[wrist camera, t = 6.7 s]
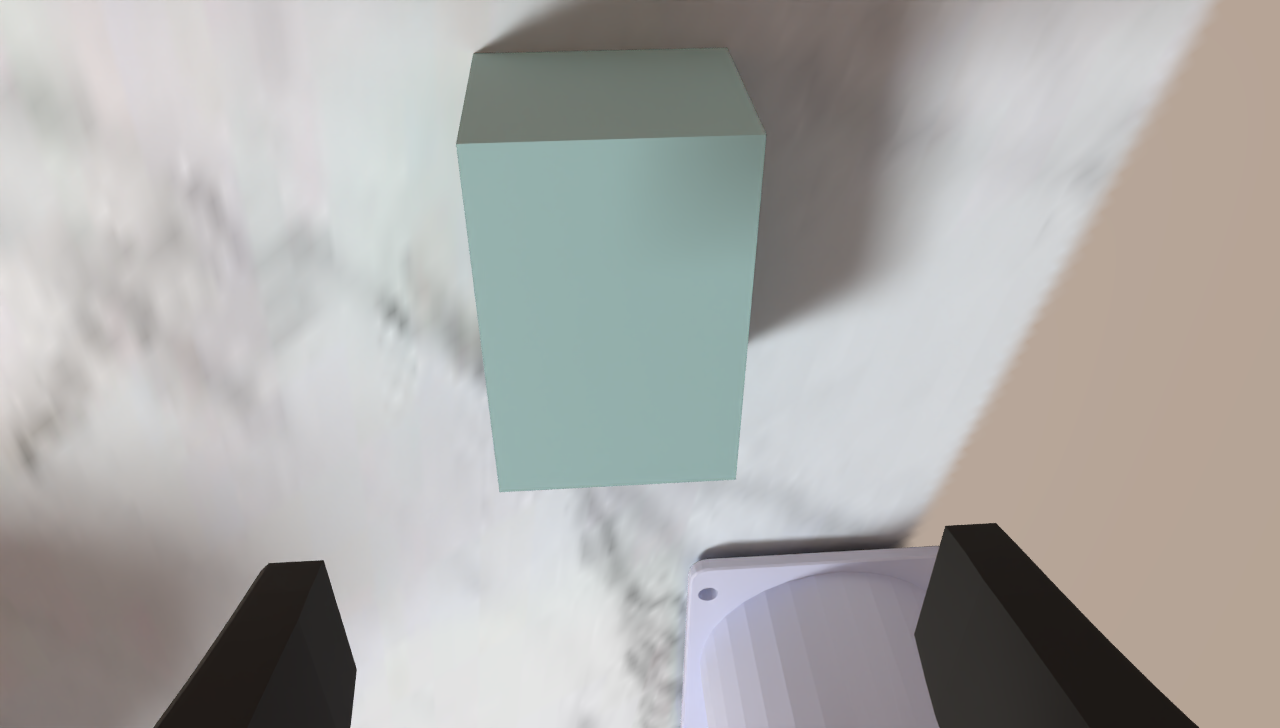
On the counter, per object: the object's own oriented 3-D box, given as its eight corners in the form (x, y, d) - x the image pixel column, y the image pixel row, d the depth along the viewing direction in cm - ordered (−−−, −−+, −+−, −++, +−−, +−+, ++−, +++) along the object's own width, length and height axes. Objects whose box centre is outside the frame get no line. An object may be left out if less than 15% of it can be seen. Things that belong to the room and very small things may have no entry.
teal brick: (707, 355, 21) (735, 479, 18) (507, 364, 21) (499, 492, 18) (725, 44, 17) (766, 135, 14) (473, 50, 17) (455, 144, 13)
